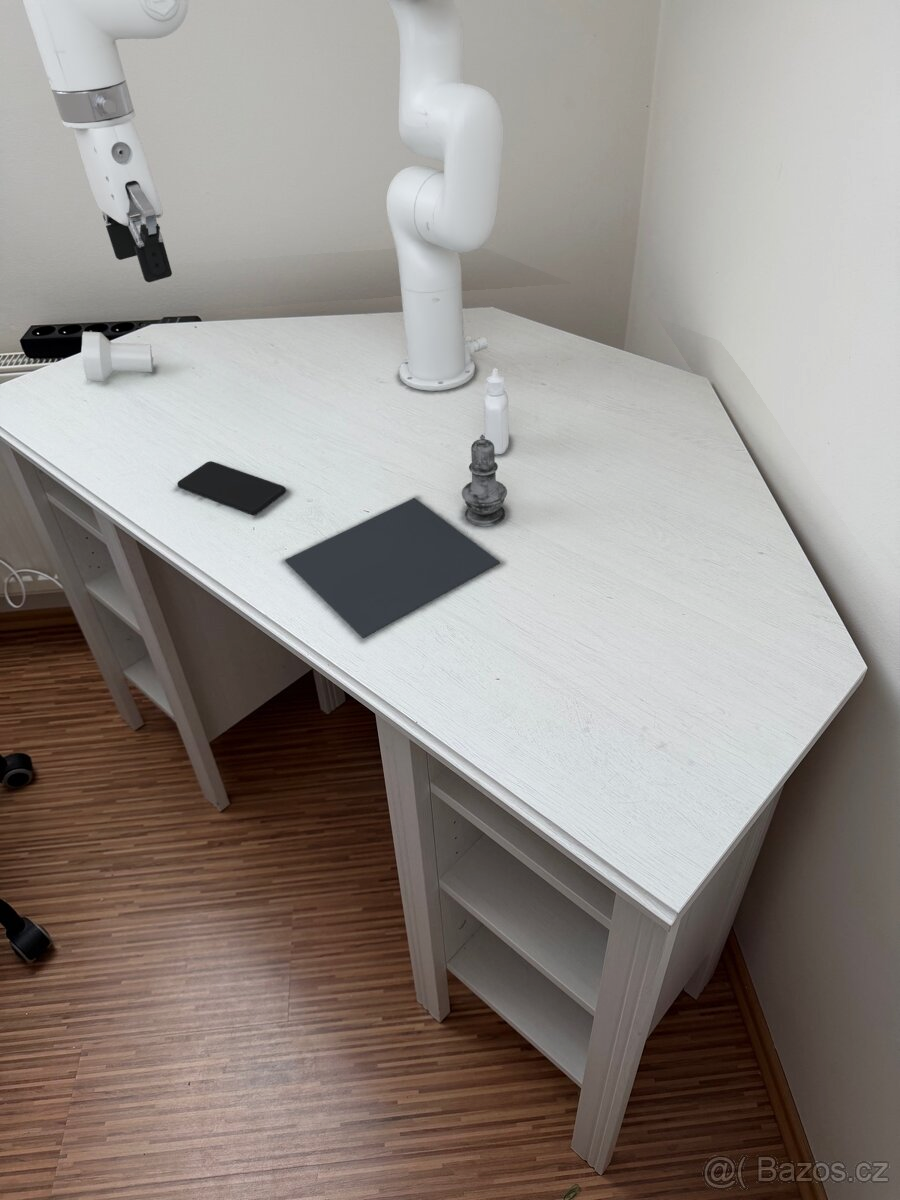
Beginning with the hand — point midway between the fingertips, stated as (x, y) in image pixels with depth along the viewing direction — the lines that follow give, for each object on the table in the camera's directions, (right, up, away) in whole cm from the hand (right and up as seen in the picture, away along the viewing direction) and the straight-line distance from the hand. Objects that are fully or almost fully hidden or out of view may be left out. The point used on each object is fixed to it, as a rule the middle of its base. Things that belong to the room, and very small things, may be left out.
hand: (143, 267), depth 100 cm
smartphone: (+6, -24, +17) cm, 31 cm away
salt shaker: (+41, -29, +10) cm, 51 cm away
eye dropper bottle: (+44, -17, +22) cm, 52 cm away
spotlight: (-21, -1, +46) cm, 51 cm away
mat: (+29, -35, +4) cm, 46 cm away
